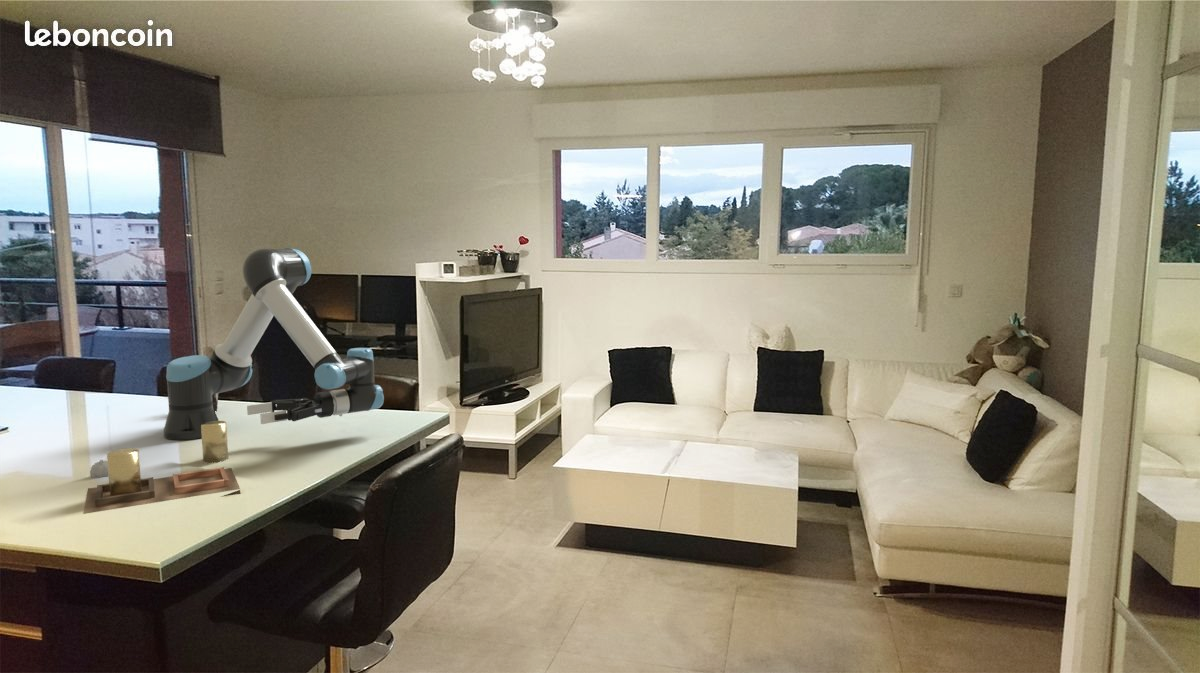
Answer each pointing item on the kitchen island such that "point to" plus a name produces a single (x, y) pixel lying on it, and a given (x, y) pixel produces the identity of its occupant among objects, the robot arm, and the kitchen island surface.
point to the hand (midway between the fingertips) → (253, 414)
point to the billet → (124, 471)
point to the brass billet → (214, 441)
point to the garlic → (99, 469)
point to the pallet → (164, 489)
